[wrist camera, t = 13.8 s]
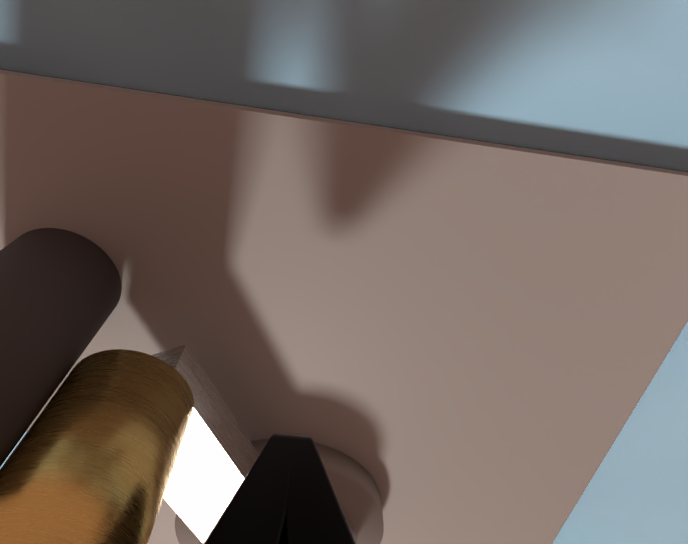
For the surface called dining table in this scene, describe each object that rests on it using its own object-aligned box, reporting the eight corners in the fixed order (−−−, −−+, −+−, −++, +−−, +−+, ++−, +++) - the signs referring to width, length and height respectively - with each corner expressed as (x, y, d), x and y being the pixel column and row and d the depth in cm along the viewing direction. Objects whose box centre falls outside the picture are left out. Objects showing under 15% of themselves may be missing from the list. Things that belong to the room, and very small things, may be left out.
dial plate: (753, 181, 10) (802, 201, 9) (469, 664, 21) (476, 699, 19) (-48, 62, 8) (-101, 70, 7) (88, 648, 19) (74, 686, 18)
